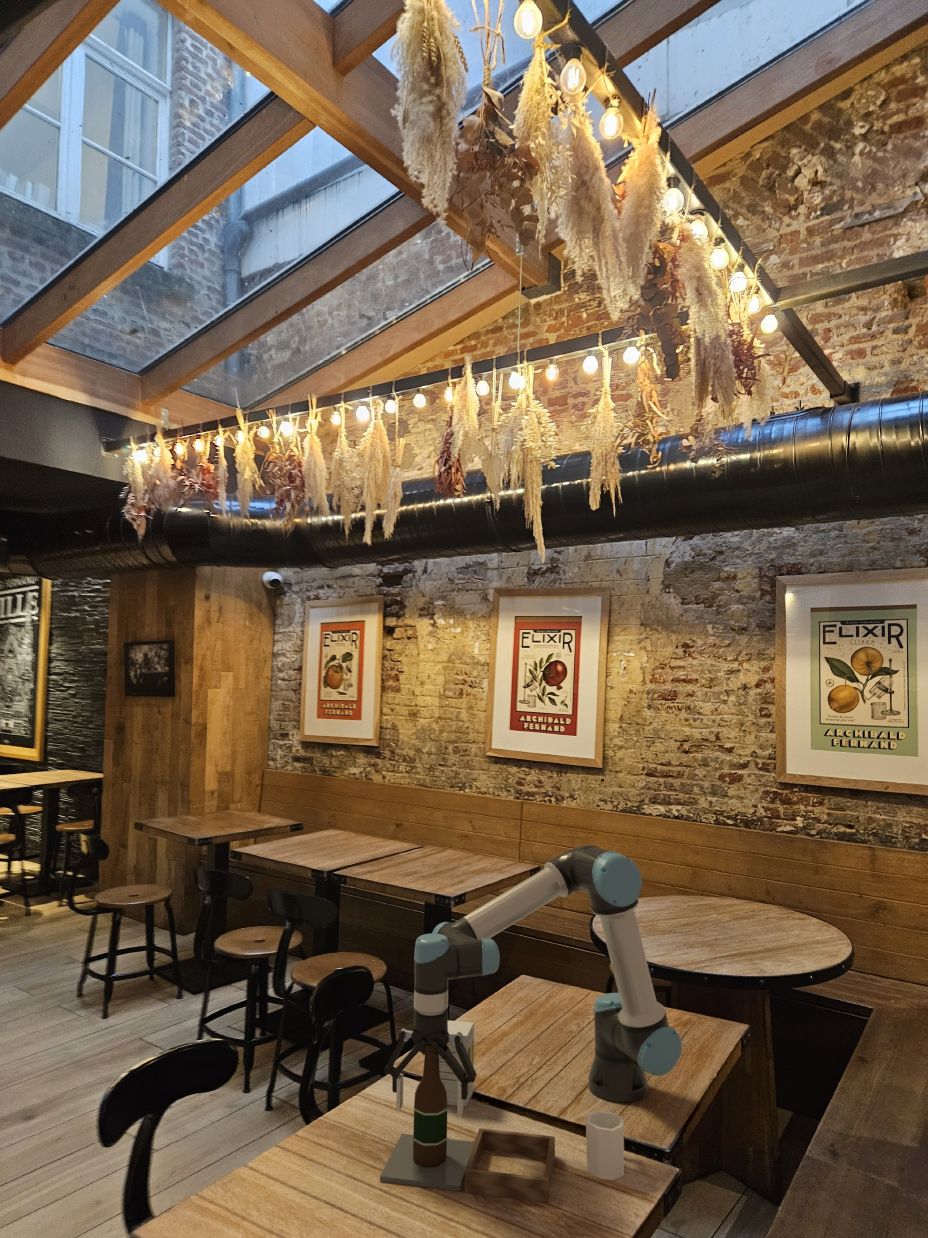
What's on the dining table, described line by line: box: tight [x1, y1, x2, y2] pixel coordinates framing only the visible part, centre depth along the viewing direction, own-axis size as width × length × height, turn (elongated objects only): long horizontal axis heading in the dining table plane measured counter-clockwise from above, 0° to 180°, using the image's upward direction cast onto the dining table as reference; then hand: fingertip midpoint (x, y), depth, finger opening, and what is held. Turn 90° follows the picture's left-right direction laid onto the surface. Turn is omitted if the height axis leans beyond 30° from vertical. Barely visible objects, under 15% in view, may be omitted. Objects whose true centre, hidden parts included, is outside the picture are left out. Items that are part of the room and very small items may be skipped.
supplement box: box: [439, 1019, 475, 1108], centre depth 204 cm, size 10×9×17 cm
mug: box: [585, 1109, 625, 1181], centre depth 175 cm, size 12×9×10 cm
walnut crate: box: [464, 1127, 556, 1203], centre depth 171 cm, size 17×17×4 cm
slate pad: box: [379, 1133, 475, 1192], centre depth 174 cm, size 17×17×1 cm
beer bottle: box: [412, 1044, 448, 1167], centre depth 175 cm, size 8×8×24 cm
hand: (429, 1111), depth 175 cm, fingers open, 13 cm apart
